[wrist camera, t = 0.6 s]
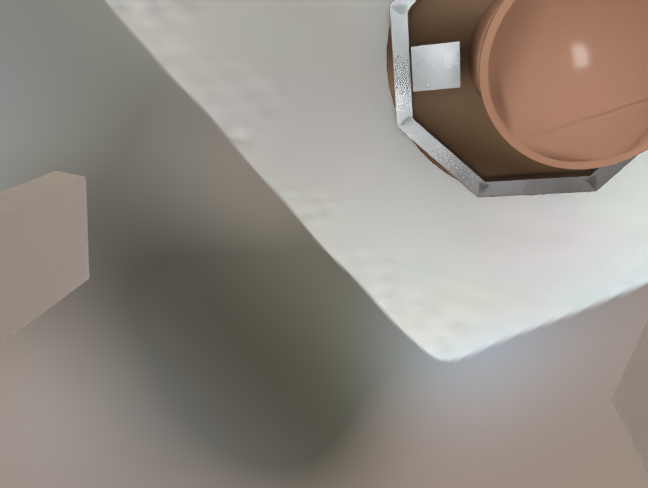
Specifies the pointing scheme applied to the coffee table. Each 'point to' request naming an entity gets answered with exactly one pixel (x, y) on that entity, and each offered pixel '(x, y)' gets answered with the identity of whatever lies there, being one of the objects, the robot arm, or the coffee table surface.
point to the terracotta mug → (565, 78)
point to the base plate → (460, 95)
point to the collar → (444, 72)
